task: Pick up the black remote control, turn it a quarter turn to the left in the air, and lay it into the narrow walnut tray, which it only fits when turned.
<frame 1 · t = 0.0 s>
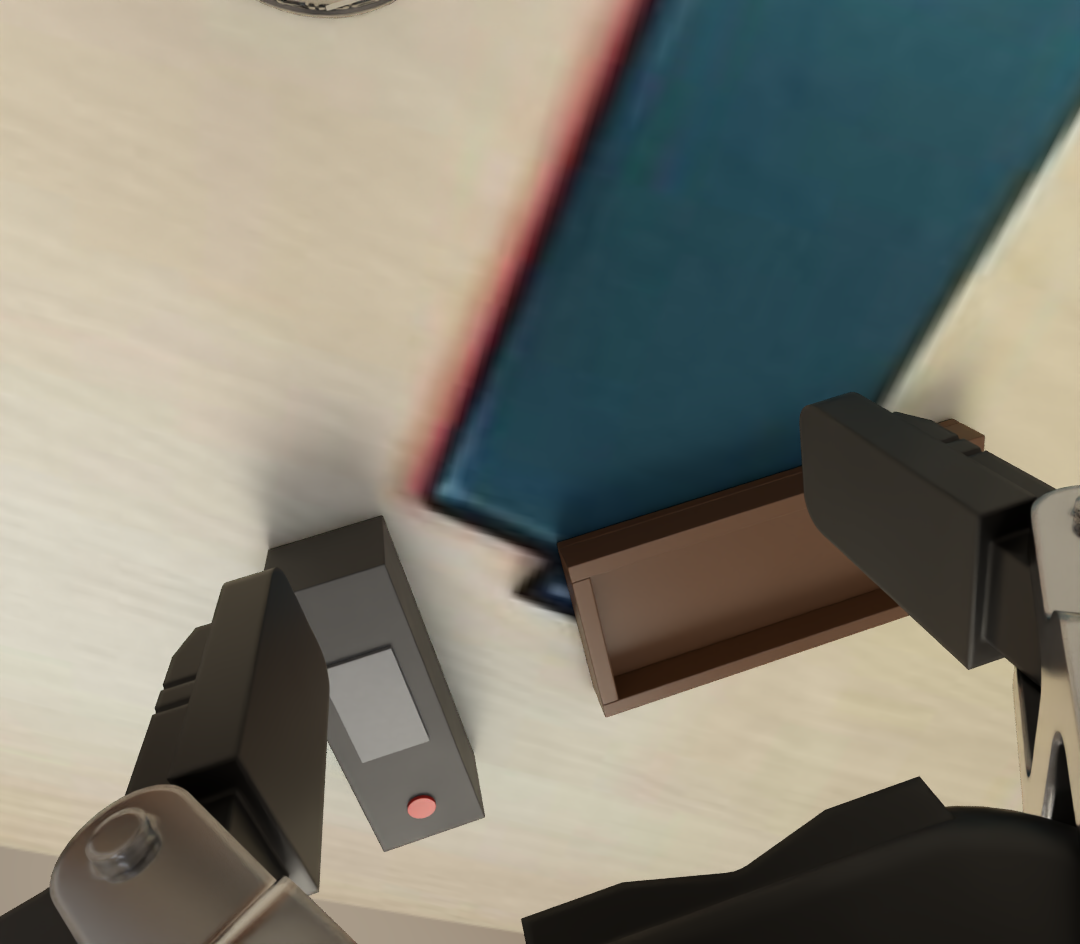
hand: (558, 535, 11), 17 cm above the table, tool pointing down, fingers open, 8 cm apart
tray: (766, 557, 35), on the table
remote: (382, 663, 33), on the table
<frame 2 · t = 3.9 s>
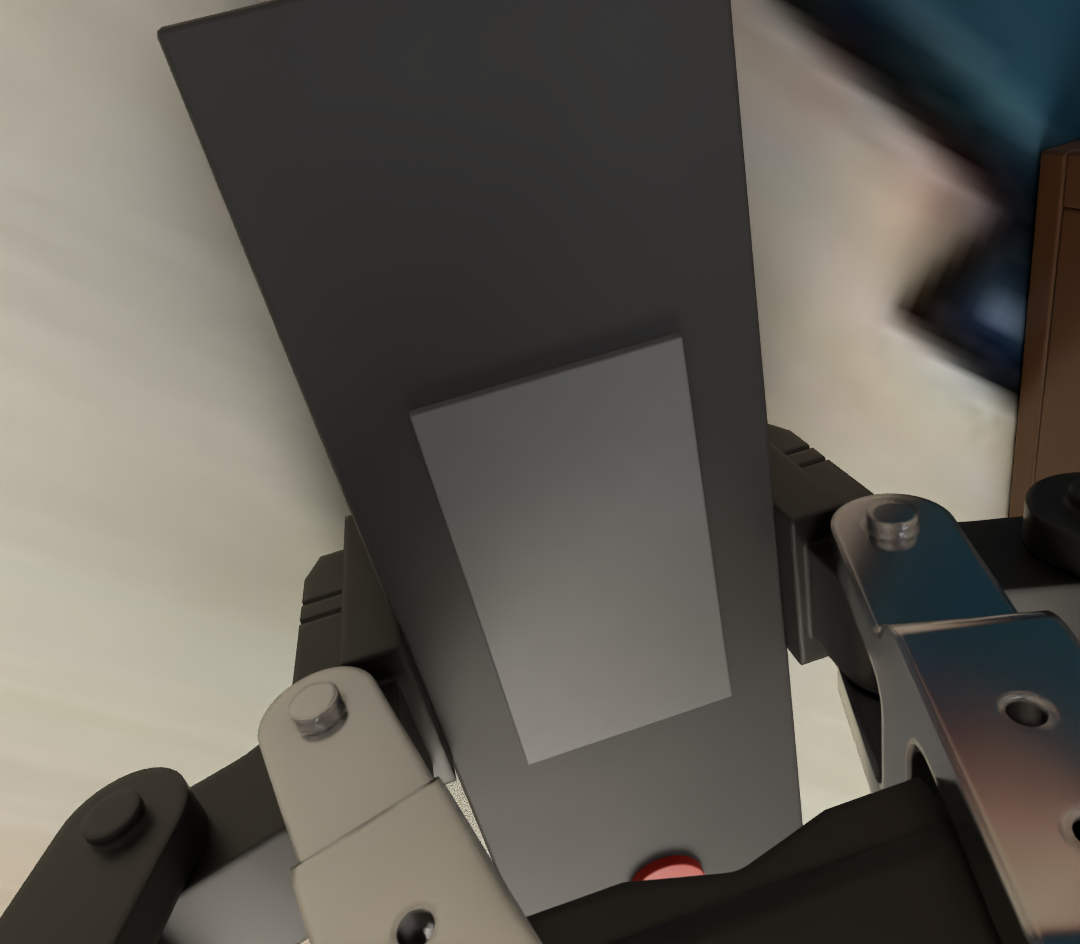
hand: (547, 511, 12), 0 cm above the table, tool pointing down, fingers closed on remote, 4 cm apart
remote: (544, 499, 12), on the table, touching gripper
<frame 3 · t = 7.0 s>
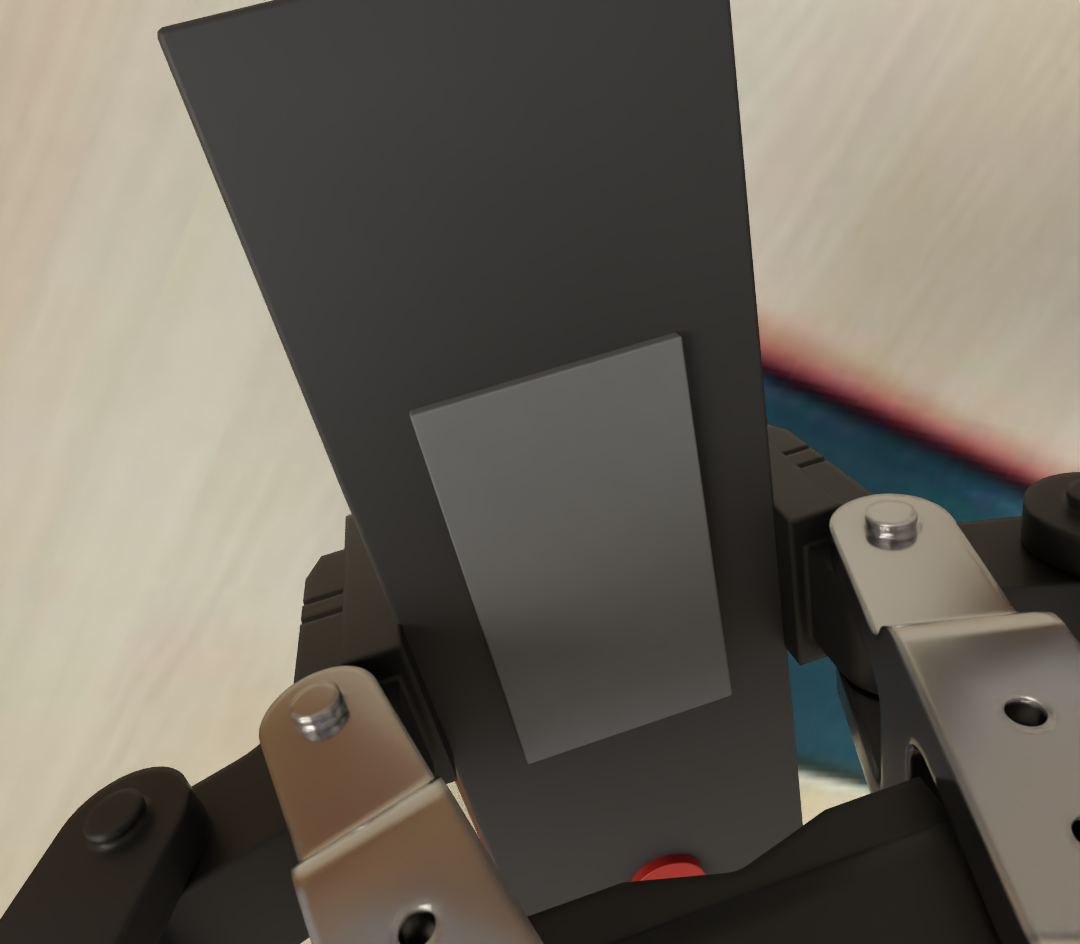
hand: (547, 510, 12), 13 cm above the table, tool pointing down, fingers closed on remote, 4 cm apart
tray: (543, 698, 31), on the table
remote: (544, 498, 12), point 13 cm above the table, touching gripper
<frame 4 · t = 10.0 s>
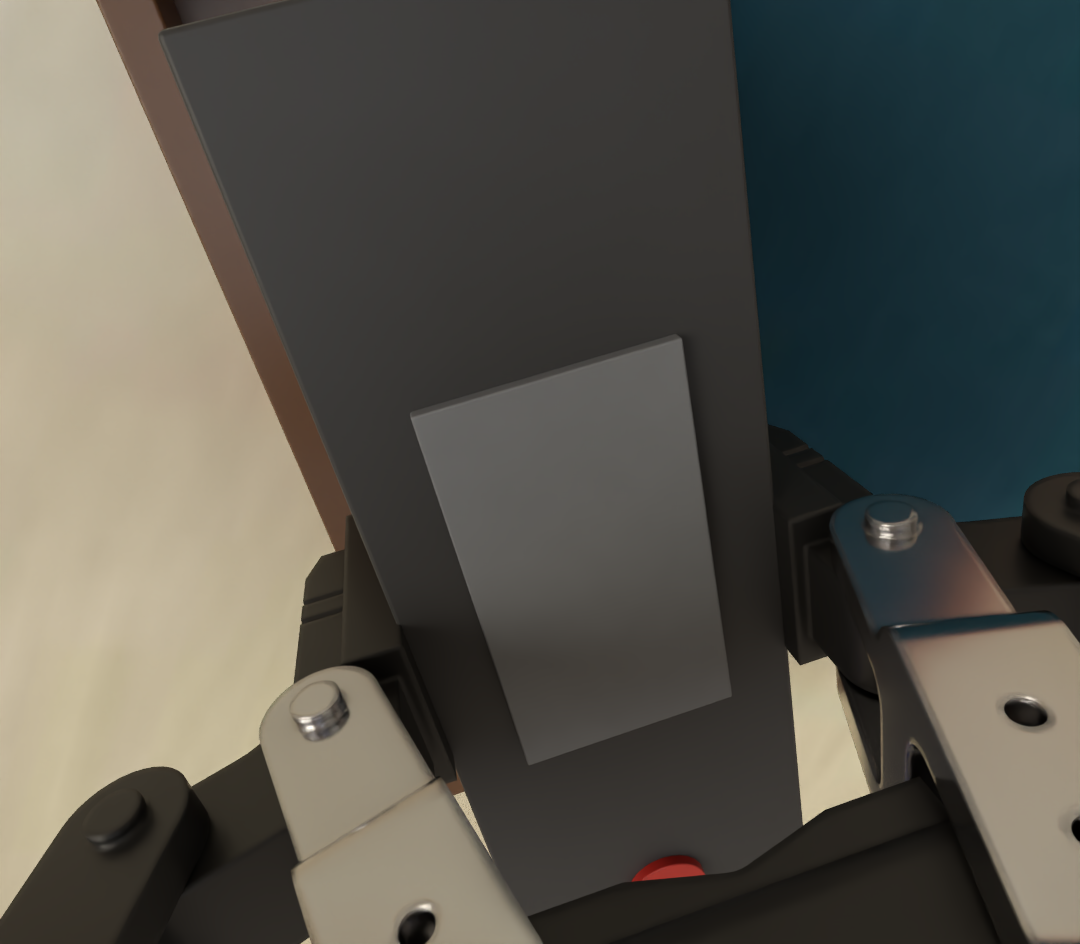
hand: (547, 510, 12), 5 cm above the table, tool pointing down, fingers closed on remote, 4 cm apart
tray: (502, 395, 17), on the table
remote: (544, 499, 12), point 5 cm above the table, touching gripper
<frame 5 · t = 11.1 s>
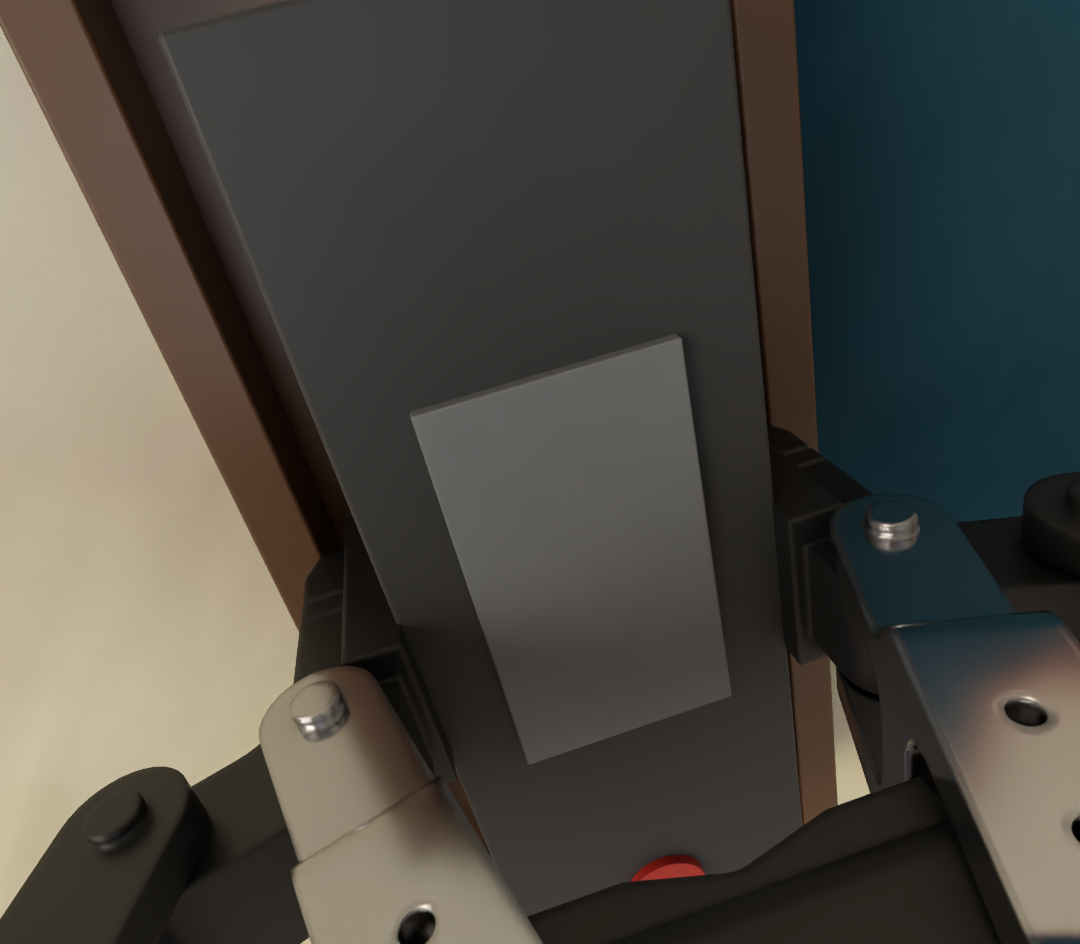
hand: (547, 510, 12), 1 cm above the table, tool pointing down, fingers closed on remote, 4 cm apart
tray: (535, 471, 13), on the table
remote: (544, 499, 12), point 1 cm above the table, touching gripper
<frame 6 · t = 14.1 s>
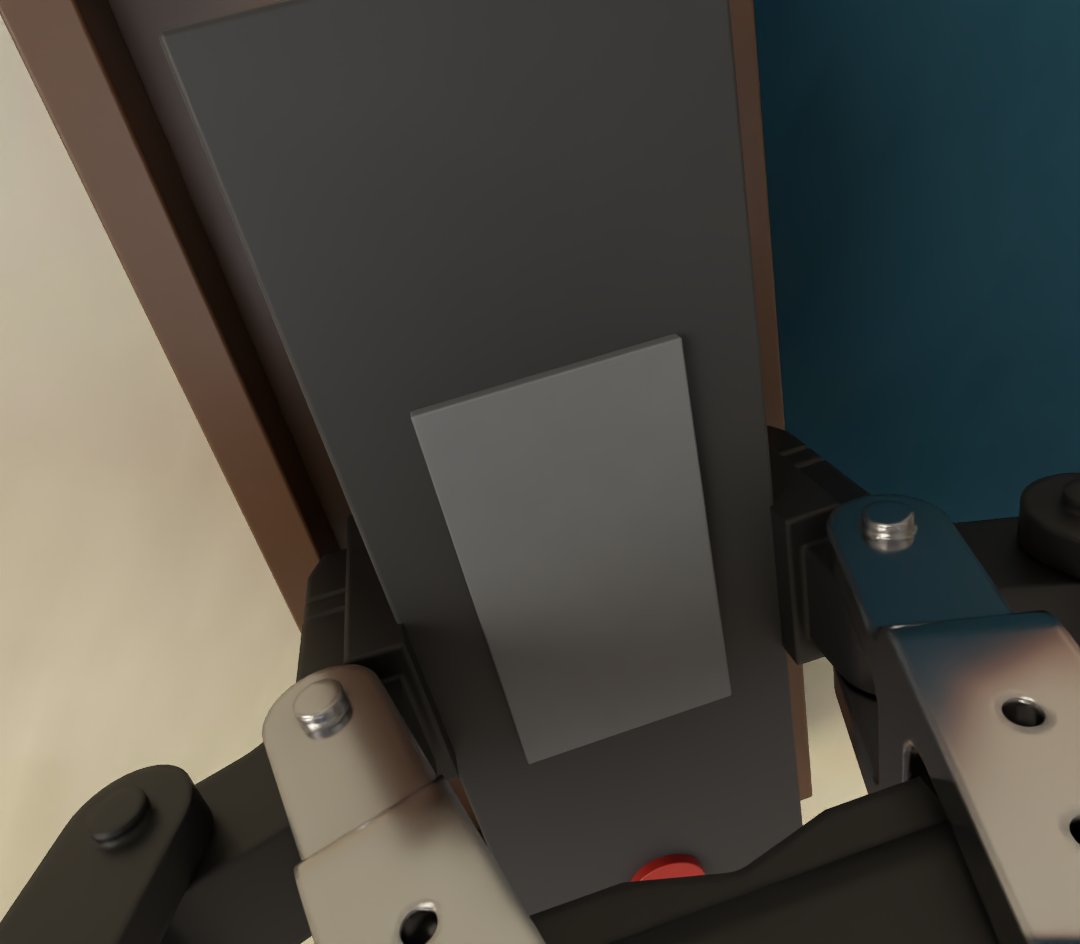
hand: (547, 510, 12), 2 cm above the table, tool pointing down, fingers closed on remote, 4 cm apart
tray: (517, 457, 14), on the table
remote: (544, 499, 12), point 2 cm above the table, touching gripper
when the fingers open (2 cm above the table, at t = 16.5 s): remote drops 1 cm, resting on tray.
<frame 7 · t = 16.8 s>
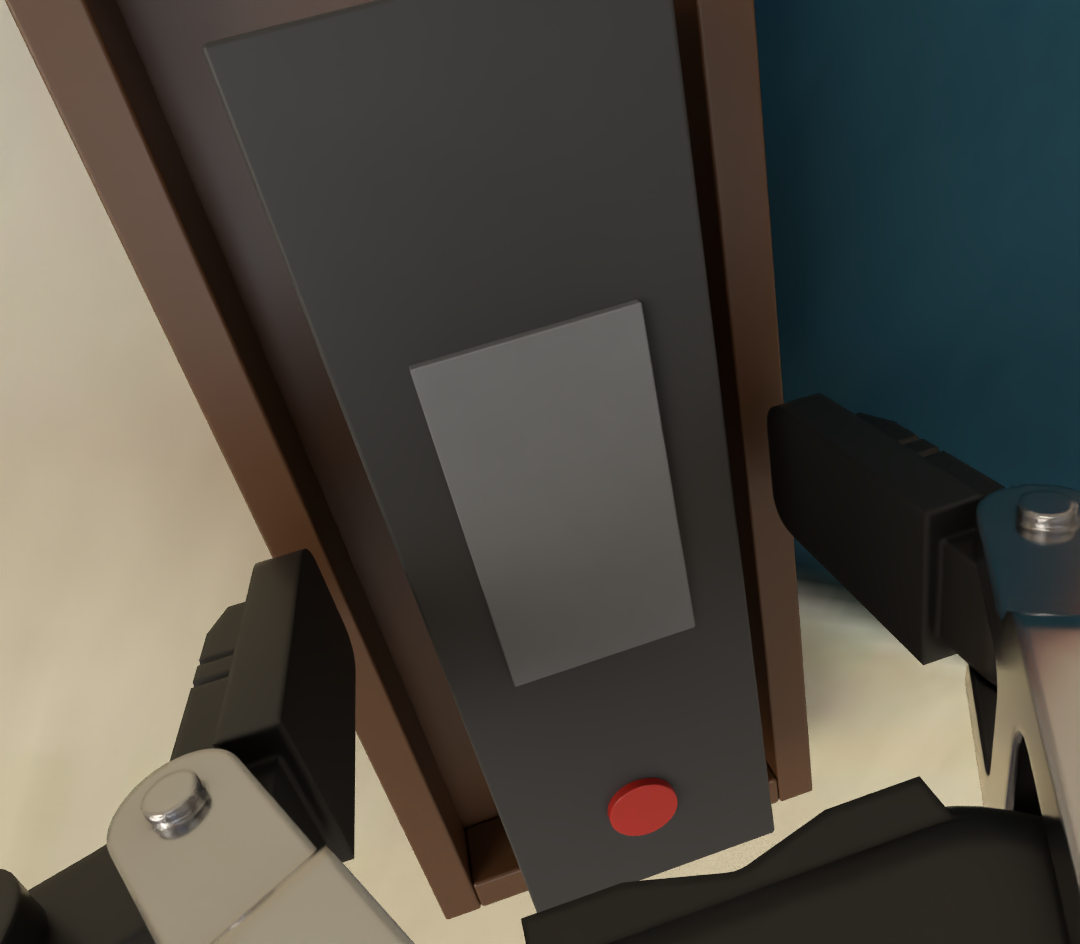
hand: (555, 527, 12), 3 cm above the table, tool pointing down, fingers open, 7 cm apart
tray: (519, 452, 14), on the table
remote: (531, 462, 14), resting on tray
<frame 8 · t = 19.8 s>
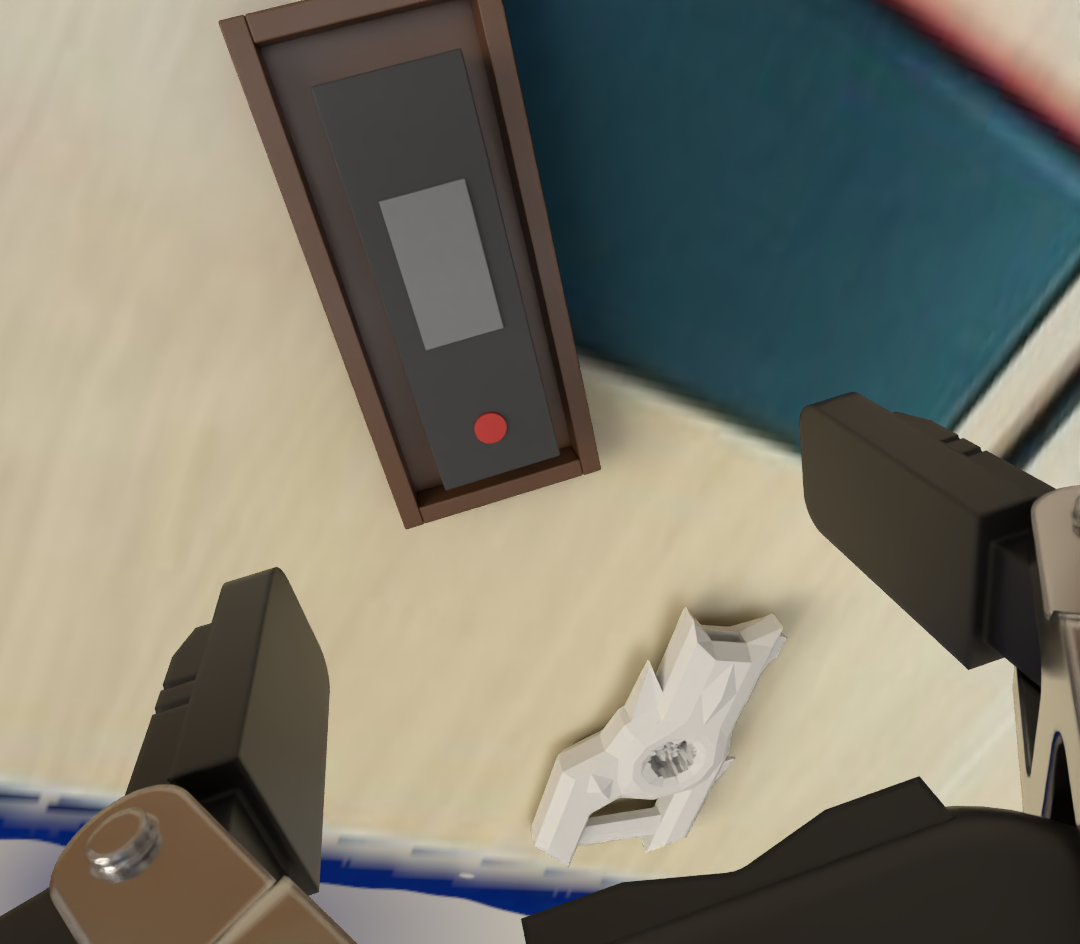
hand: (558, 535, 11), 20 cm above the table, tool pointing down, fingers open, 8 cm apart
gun: (642, 725, 42), on the table
tray: (437, 273, 29), on the table
remote: (442, 275, 29), resting on tray
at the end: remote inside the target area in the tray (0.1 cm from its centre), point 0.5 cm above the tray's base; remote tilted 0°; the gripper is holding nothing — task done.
